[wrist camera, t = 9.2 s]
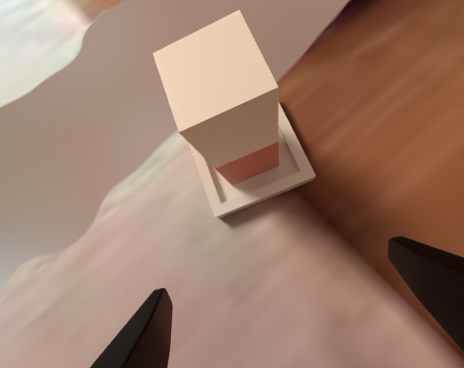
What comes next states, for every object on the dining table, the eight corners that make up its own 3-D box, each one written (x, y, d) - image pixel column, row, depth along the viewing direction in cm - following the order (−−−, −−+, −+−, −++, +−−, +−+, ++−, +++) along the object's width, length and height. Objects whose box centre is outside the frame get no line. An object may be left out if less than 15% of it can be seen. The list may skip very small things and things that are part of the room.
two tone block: (278, 166, 22) (278, 87, 10) (231, 185, 23) (178, 132, 11) (259, 123, 23) (239, 9, 11) (215, 143, 24) (152, 53, 12)
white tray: (313, 180, 22) (316, 175, 20) (219, 218, 23) (214, 217, 21) (272, 98, 25) (271, 88, 23) (190, 136, 26) (183, 129, 24)
